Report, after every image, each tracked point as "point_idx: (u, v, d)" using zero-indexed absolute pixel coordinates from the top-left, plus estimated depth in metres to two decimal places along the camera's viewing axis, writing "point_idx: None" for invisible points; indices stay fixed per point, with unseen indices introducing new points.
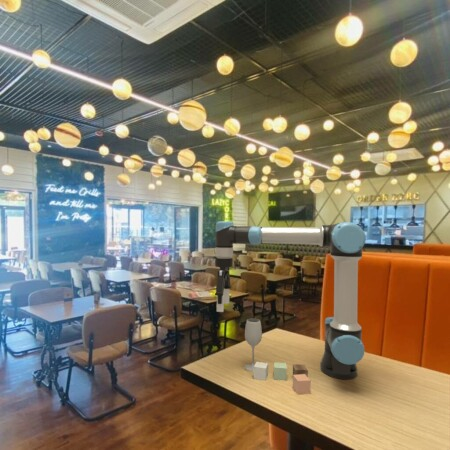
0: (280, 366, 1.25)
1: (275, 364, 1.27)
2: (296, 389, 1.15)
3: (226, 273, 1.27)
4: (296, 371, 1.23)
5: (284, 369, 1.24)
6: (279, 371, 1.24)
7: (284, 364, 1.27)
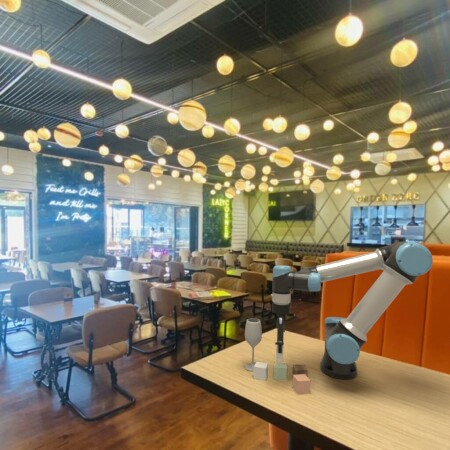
0: (280, 366, 1.25)
1: (275, 364, 1.27)
2: (296, 389, 1.15)
3: (284, 320, 1.25)
4: (296, 371, 1.23)
5: (284, 369, 1.24)
6: (279, 371, 1.24)
7: (284, 364, 1.27)
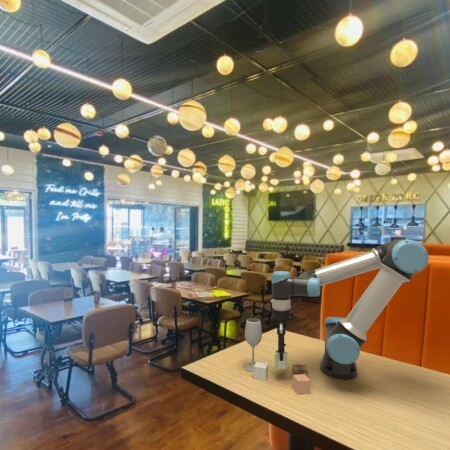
0: None
1: (276, 353, 1.27)
2: (296, 389, 1.15)
3: (285, 326, 1.24)
4: (296, 371, 1.23)
5: (285, 357, 1.24)
6: None
7: (285, 353, 1.27)
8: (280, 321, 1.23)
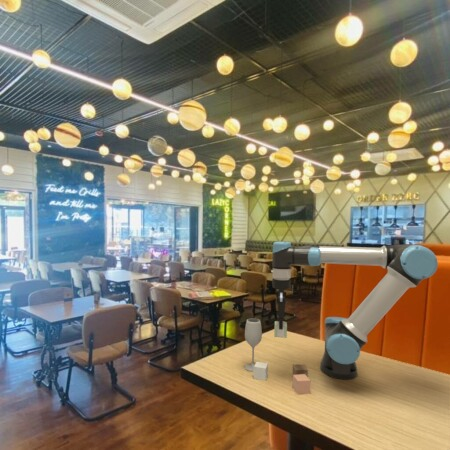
0: None
1: (275, 322, 1.28)
2: (296, 389, 1.15)
3: (285, 295, 1.25)
4: (296, 371, 1.23)
5: (284, 326, 1.24)
6: None
7: (284, 322, 1.28)
8: (280, 290, 1.23)
